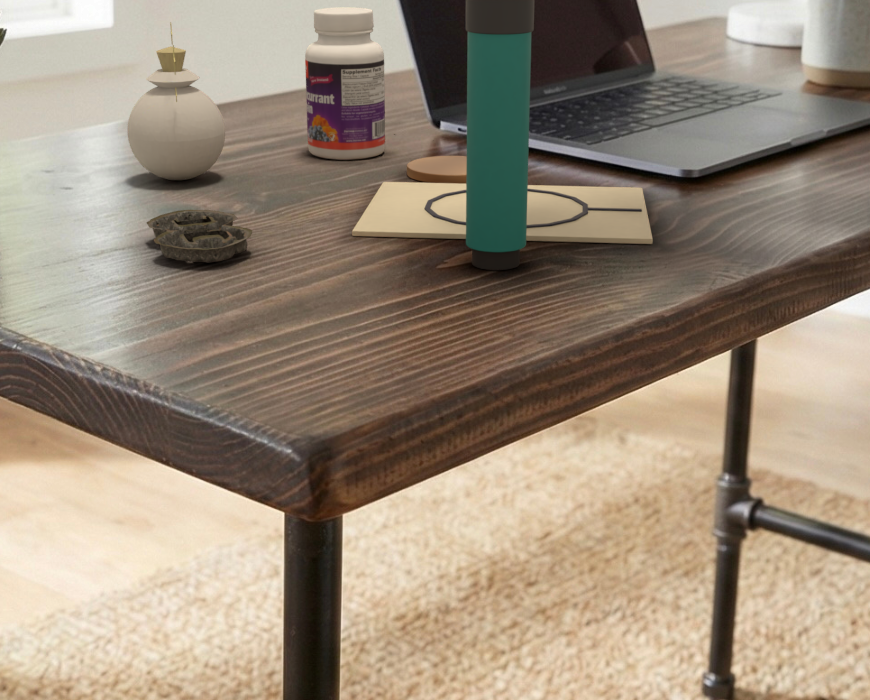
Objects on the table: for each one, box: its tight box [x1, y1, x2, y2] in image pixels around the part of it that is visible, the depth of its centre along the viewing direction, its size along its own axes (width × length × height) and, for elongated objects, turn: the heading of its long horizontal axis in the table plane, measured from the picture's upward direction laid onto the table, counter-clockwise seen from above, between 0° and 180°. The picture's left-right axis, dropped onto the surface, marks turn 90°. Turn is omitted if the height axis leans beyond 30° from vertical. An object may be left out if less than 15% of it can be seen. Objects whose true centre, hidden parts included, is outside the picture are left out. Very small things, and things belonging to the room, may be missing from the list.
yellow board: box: [351, 181, 654, 245], centre depth 75 cm, size 16×12×1 cm
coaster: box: [406, 155, 467, 184], centre depth 84 cm, size 6×6×1 cm
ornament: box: [127, 21, 226, 181], centre depth 81 cm, size 6×8×10 cm
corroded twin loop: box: [146, 209, 253, 264], centre depth 67 cm, size 5×8×1 cm, turn 21°
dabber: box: [465, 0, 535, 271], centre depth 63 cm, size 3×3×13 cm
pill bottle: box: [304, 6, 386, 161], centre depth 89 cm, size 5×5×10 cm
